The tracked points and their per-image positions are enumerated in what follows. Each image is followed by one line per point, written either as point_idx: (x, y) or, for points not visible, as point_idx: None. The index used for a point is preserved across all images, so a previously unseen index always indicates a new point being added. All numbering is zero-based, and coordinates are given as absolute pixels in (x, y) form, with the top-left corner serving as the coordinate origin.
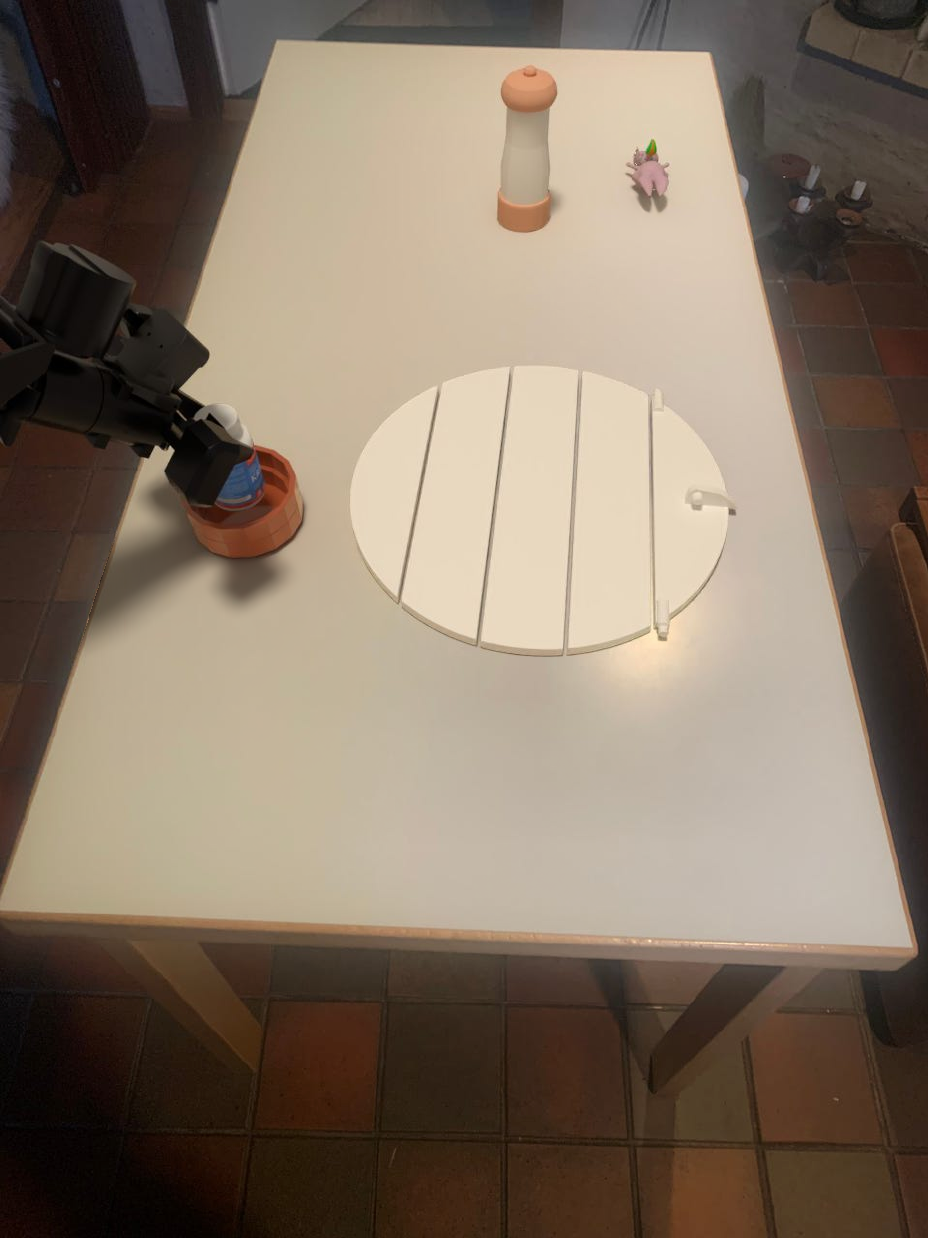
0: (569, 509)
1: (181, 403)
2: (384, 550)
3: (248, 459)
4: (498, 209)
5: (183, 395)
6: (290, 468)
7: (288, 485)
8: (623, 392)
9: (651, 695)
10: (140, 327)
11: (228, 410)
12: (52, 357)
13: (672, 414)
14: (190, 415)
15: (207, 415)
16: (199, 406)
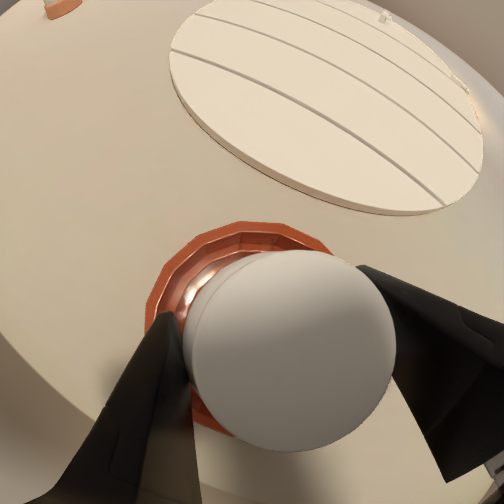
0: (376, 54)
1: (162, 477)
2: (391, 186)
3: None
4: (52, 12)
5: (139, 473)
6: (262, 225)
7: (257, 247)
8: None
9: (491, 125)
10: None
11: (282, 281)
12: None
13: None
14: (179, 431)
15: (267, 387)
16: (160, 391)
